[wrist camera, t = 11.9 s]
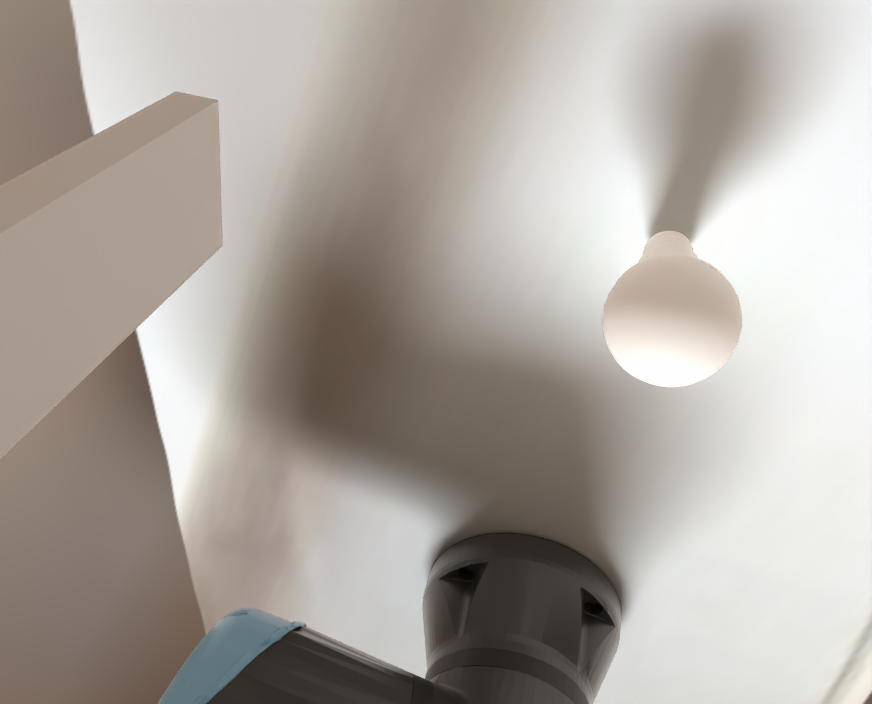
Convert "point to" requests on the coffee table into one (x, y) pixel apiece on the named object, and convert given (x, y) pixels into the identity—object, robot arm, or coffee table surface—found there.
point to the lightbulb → (671, 315)
